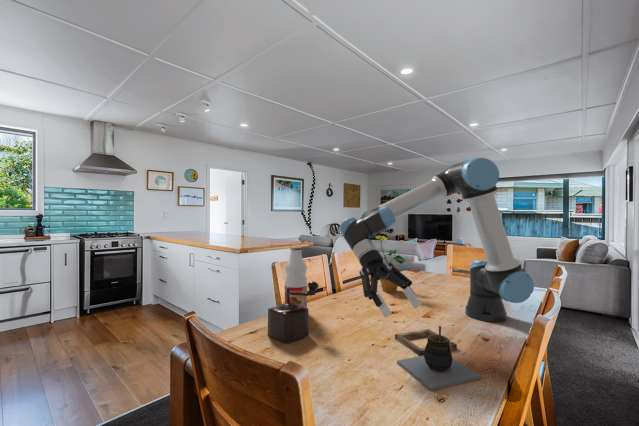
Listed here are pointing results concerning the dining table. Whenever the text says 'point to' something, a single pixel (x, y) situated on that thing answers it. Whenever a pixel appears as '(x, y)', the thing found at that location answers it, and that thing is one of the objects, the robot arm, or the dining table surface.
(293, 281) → the fruit juice
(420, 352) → the frame
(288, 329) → the pepper mill
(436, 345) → the mate gourd
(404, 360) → the charcoal mat
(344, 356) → the dining table surface
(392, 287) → the potted plant
